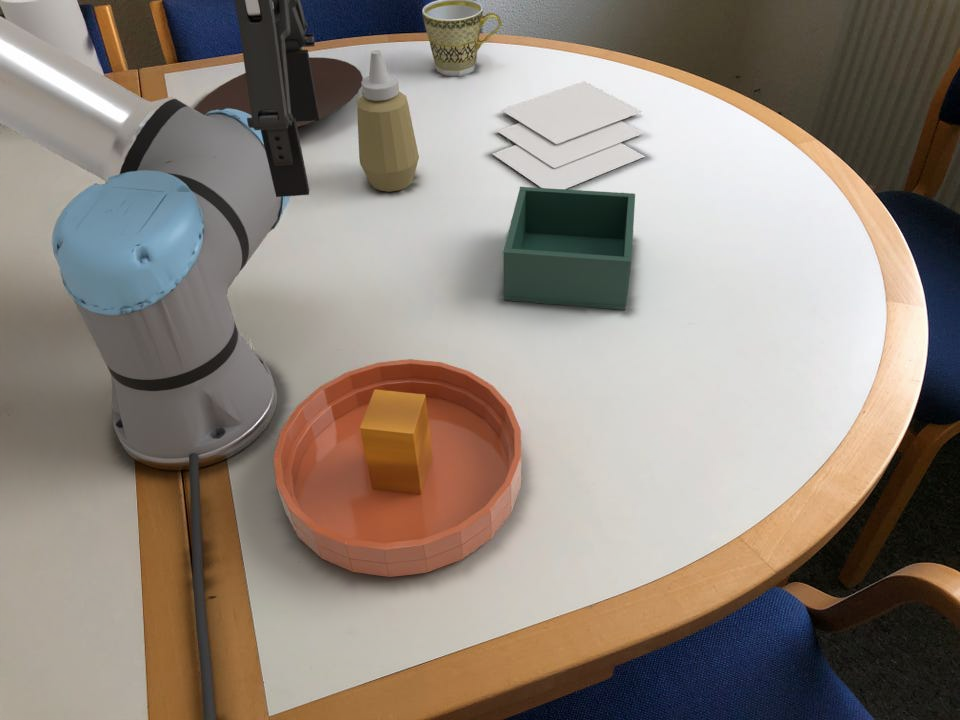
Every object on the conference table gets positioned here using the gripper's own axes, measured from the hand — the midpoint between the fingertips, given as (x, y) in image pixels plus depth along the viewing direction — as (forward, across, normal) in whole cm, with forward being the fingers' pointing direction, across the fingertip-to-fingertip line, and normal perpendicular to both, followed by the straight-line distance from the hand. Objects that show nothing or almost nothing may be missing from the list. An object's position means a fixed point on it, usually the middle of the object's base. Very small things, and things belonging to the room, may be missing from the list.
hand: (299, 154), depth 71 cm
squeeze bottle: (+22, +32, -6) cm, 39 cm away
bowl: (+22, -20, -7) cm, 31 cm away
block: (+21, -20, -7) cm, 30 cm away
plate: (+22, +57, +12) cm, 62 cm away
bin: (+22, +8, -27) cm, 36 cm away
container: (+22, +58, +43) cm, 75 cm away
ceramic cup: (+22, +68, -19) cm, 73 cm away
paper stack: (+22, +41, -33) cm, 57 cm away
